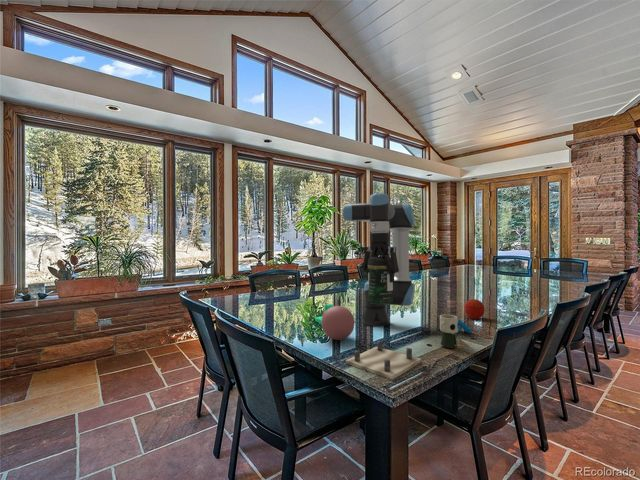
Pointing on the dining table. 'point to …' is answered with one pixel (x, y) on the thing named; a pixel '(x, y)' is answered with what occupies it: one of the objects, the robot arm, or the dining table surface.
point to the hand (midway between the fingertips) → (380, 289)
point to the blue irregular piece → (463, 327)
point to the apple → (474, 309)
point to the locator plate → (378, 362)
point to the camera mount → (321, 316)
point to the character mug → (448, 330)
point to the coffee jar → (378, 281)
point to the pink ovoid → (337, 322)
